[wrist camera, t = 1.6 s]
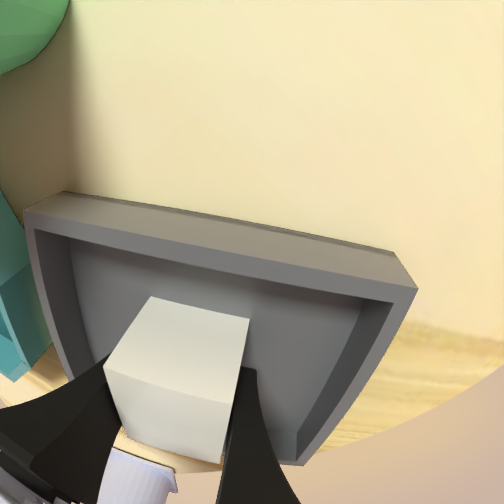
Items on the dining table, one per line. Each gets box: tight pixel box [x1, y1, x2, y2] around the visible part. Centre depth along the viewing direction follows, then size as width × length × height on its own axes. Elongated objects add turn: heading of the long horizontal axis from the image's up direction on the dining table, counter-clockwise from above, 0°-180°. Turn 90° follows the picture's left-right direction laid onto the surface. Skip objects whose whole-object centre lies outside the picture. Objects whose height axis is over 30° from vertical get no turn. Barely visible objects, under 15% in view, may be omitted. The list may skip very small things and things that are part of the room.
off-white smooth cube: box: [103, 296, 250, 464], centre depth 10 cm, size 5×4×4 cm
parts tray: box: [22, 191, 418, 466], centre depth 11 cm, size 12×13×2 cm
